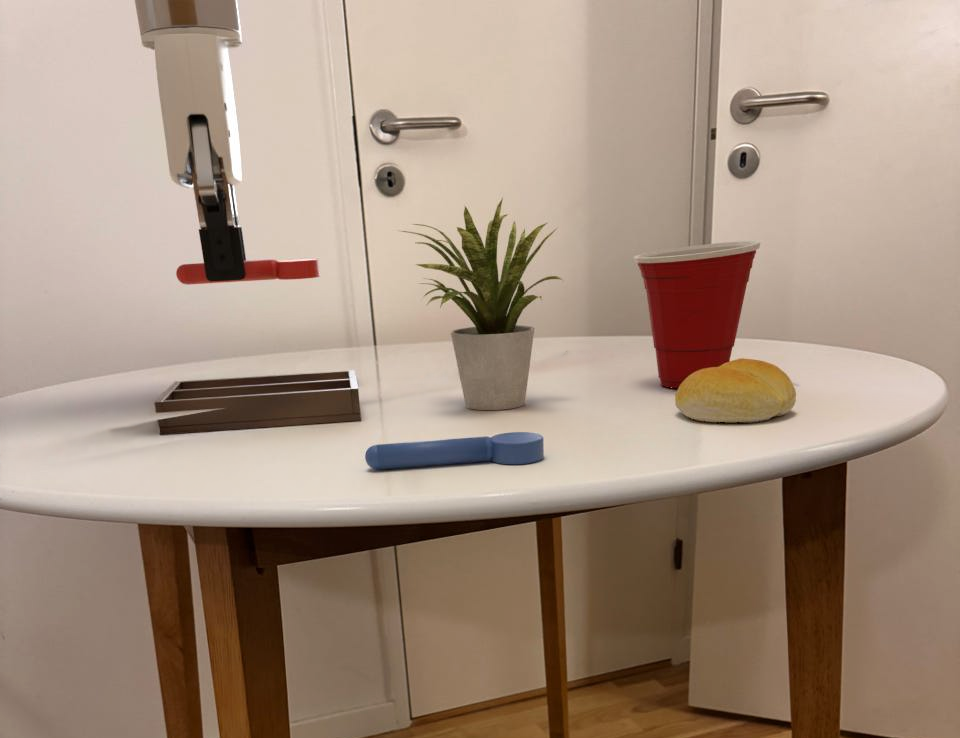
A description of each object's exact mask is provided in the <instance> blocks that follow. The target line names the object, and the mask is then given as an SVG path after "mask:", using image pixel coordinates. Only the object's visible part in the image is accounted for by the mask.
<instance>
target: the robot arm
mask: <svg viewBox="0 0 960 738" xmlns="http://www.w3.org/2000/svg"><path fill="white" fill-rule="evenodd" d="M134 5H135V11H136V16H137V24H138V28H139V29H138V30H139V34H140V40H141V46H143V47H144V48H146V49H150V50H152V51H154V57H155V58H154V59H155V70H156V80H157V87H158V95H159V96H158V97H159V103H160V104H159V105H160V111H161V118H162V124H163V125H162V126H163V133H164V140H165V147H166V156H167V164H168V171H169V176H170V180H172V181H173V182H174V183H175V185H178V186H179V187H182V188H186V189H192V190H193V193H194V199H195V206H196V212H197V217H198V223H199V229H198V234H199V241H200V246H201V247H200V248H201V254H202V260H203V263H204V266H205V273H206V278H207V280H209V281H228V280H242V279H244V278H245V276H246V272H245V265H244V261H247V257H246V256H247V255H246V250H245V243H244V235H243V229H242V228H243V227H242V226H240V221H239V214H238V208H237V199H236V193H235V192H236V191H235V190H236V189H235V187H236V186H238V185H239V184H240V183H241V182H242V179H243V177H242V176H243V175H242V161H241V146H240V135H239V127H238V118H237V110H236V102H235V93H234V85H233V77H232V70H231V62H230V57H229V50H234V49H237V48H239V47H240V46H242V45H243V38H242V30H241V22H240V15H239V14H240V13H239V8H238V0H134Z"/></svg>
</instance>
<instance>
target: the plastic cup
mask: <svg viewBox="0 0 960 738" xmlns="http://www.w3.org/2000/svg"><path fill="white" fill-rule="evenodd" d="M760 246H761V241H756V240H753V241H752V240H750V241H749V240H747V241H745V240H744V241H730V242H717V243H706V244H698V245H689V246H681V247H675V248H674V247H673V248H668V249H662V250H661V249H660V250H656V251H655V250H654V251H649V252H646V253H640V254H638V255H635V256H633V257H632V258H633V262H634V263H637V266H638V268H639V270H640V275H641V278H642V280H643V285H644V289H645V291H646V300H647V306H648V307H647V308H648V312H649V314H648V315H649V320H650V327H651V335H652V342H653V348H654V349H655V356H656V366H657V374H658V375H657V376H658V378H659V380H660V385H661V387H663V386H665V387H664V388H667V387H672V388H671V389H673V388H679V386H680V385H681V383H682V382H683V381H684V380H685V379H686V378H687V377H688V376H689V375H691V374H692V373H694V372H696V371H698V370H701V369H704V368H711V367H719V366H721V365H722V364H724V363H727V362H730V361H731V356H732V351H733V347H734V346H735V342H736V339H737V334H738V328H739V323H740V319H741V314H742V310H743V304H744V300H745V295H746V290H747V287H748V283H749V281H750V275H751V269H752V268H753V264H754V259H755V256H756V254H757V250H759V249H760Z"/></svg>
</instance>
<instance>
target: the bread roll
mask: <svg viewBox="0 0 960 738" xmlns="http://www.w3.org/2000/svg"><path fill="white" fill-rule="evenodd" d="M676 390H677V391H676V392H675V398H674V402H675V403H674V404H675V406H676V409H677V410H678V411H680V413H681V414H682V415H683V416H685V417H687V418H688V417H689V418H688V419H690V418H691V419H690V420H693V419H694V421H699V422H704V421H705V422H706V423H717V422H719V423H720V422H725V423H724V424H728V423H729V424H734V423H736V424H738V423H737V422H740V423H741V424H742V422H743V423H744V424H745V423H746V424H747V422H748V423H760V422H762V421H763V422H764V421H768V420H771V418H773V417H781V416H784V415H786V414H787V413H788V412H790V411H791V410H792V409H793V407H794V406H795V404H796V401H797V391H796V388H795V386H794V383H793V382H792V380H791V378H790V377H789V375H787V373H786V372H785V371H784V370H782V369H781V368H780V367H778V365H776V364H773V363H770V362H767V361H764V360H760V359H753V358H745V357H744V358H743V357H742V358H737V359H733V360H730V361H729V362H727V363H724V364H722V365H721V366H719V367H711V368H704V369H701V370H698V371H696V372H694V373H692V374H691V375H689V376H688V377H687V378H686V379H685V380H684V381H683V382H682V383H681V385H680V386H679V388H678V389H676ZM759 421H760V422H759ZM720 424H721V423H720Z"/></svg>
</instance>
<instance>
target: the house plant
mask: <svg viewBox="0 0 960 738" xmlns="http://www.w3.org/2000/svg"><path fill="white" fill-rule="evenodd" d="M503 198H504V197H503V196H502V198H501V200H500V201H499V203H498V204H497V206H496V209H495V212H494V216H493V219H491V220H490V221H489V222H488V224H487V230H486V236H485V243H484V242H483V240H482V237H481V234H480V233H479V231H478V229H477V227H476V225H475V223H474V220H473V217H472V215H471V213H470V211H469V209H468V208H467V207H466V206H464V209H463V220H464V225H465V228H462V227H458V226H456V231H457V233H458V234H459V235H460V238H461V249H462V251H463V253H464V255H465V257H466V260H467V261H468V263H469V265H470V267H469V266H468V263H467V261H466V260H465V258H464V256H463V254H462V253H461V251H460V250H459V249H458V248H457V246H456V245H455V244H454V242H453V241H452V240H451V239H450V238H449V236H447V234H445V233H444V232H443V231H441V230H439V229H437V228H436V227H434V226H430V225H427V224H418V223H412V225H414V226H420V227H421V226H422V227H427V228H431V229H433V230H435V231H436V232H438V234H440V235H442V237H443V238H444V239H445V240H443V239H436V238H434V237H431V236H429V235H426V234H423V233H419V232H414V231H407V230H401V232H403V233H407V234H408V233H409V234H414V235H417V236H421V237H424V238H426V239H427V240H429V241H432V242H433V243H434V244H432V243H430V242H423V241H419V242H416V244H417V245H418V244H420V245H421V244H422V245H426V246H428V247H429V248H431V249H433V250H434V251H435V252H437V253H438V254H439V255H440V256H441V257H442V258H443V259H444V260H445V262H447V264H443V263H442V264H441V263H417V264H415V266H419V267H421V268H424V269H429V270H437V271H442V272H444V273H447V274H449V275H452V276H455V277H457V278H458V280H459V282H460V283H461V286H463V288H464V290H465V291H458V290H457V289H455V288H453V287H447V286H446V285H444V284H443V283H442V282H441V281H438V280H437V279H433V278H428V280H430V281H433V282H434V283H429V282H428V283H423V282H422V283H419V282H418V284H420V285H430V286H435V287H436V288H433V289H432V290H429V291H427V292H426V293H425V294H424V295H423V297H426V296H428V295H429V294H431V293H433V292H436V291H442V292H443V293H445V294H443V295H436V296H435V295H434V296H433V297H431V298H430V299H429V301H428V302H427V304H426V306H428V305H429V304H430V303H431V302H433V301H436V300H439V299H441V301H440V306H439V309H441V307H443V305H444V304H445V303H447V302H448V301H450V300H451V301H453V302H454V304H456V305H457V306H458V307H459V309H460V310H461V311H462V312H463V313H464V314H465V316H466V317H468V319H469V320H470V321H471V322H472V323H473V325H474V326H470V327H464V328H463V327H461V328H457V329H453V330H451V331H450V337H451V340H452V345H453V350H454V355H455V356H454V357H455V360H456V366H457V370H458V375H459V379H460V385H461V389H462V395H463V399H464V405H465V407H466V408H468V409H472V410H477V411H500V410H510V409H515V408H516V409H517V408H520V407H522V406H524V405H525V403H526V397H527V390H528V383H529V382H528V381H529V373H530V365H531V359H532V350H533V343H534V342H533V341H534V336H535V328H534V326H529V325H521V324H520V325H519V324H518V325H517V323H518V320H519V318H520V317H521V315H522V313H523V311H524V310H525V309H526V307H528V305H530V304H531V303H532V302H534V301H535V300H536V299H538V298H539V299H540V301H543V300H542V297H543V296H542V295H540V296H538V295H535V294H530V295H526V293H528V292H529V290H531V289H532V288H534V287H535V286H537V285H538V284H540V283H543V282H545V281H550V280H561V281H563V278H561V277H560V276H557V275H556V276H555V275H551V276H545V277H543V278H541V279H539V280H538V281H536V282H535V283H532V285H530V286H528V288H526V287H525V284H524V283H523V282H522V281H521V279H522V278H523V275H524V273H525V272H526V270H527V267H528V266H529V265H530V263H531V261H532V260H533V259H534V258H535V256H536V255H537V254H538V252H539V251H540V249H541V248H542V246H543V245H544V244H545V242H546V241H547V240H548V239H549V238H550V237H551V236H552V235H553V233H554V232H556V230H558V227H556V228H555V229H554V230H552V232H550V233H549V234H547V235H546V236H545V237H544V239H542V241H541V242H540V243H539V244H538V246H537V247H536V248H535V249H534V251H533V252H532V253H530V250H531V248H532V246H533V245H534V243H535V240H536V238H537V237H538V235H539V233H540V232H541V230H543V228H544V227H545V226H546V225H547V224H548V222H545V223H544V224H540V225H538V226H537V227H536V228H534V229H533V230H532V231H531V232H530V233H529V234H527V236H526V229H525V227H524V228H523V231H522V232H521V234H520V238H519V240H518V242H517V244H516V239H517V225H516V221H515V220H514V221H513V223H512V226H511V230H510V232H509V236H508V241H507V247H506V251H505V255H504V259H503V263H502V267H501V268H502V270H501V275H500V280H499V269H498V241H499V232H500V229H501V226H502V222H503V220H504V218H506V217H507V216H508V215H509V213H508V214H503V215H501V211H502V204H503ZM396 231H398V232H399V230H398V229H397V230H396ZM442 242H444V243H446V244H449V246H450V248H451V249H450V248H449V247H447V246H446V245H445V244H444V243H442ZM435 244H436V245H435ZM515 245H516V247H515ZM438 246H439V247H440V248H439V247H438ZM514 248H515V249H514ZM444 251H445V252H444ZM513 252H514V253H513ZM446 253H447V254H448V255H449V256H450V257H451V258H452V259H453V260H454V261H455V262H456V264H457V265H458V266H456V265H455V263H454V262H453V261H452V259H451V258H450V257H449V256H448V255H447V254H446ZM529 253H530V255H529ZM422 279H424V280H426V278H424V277H423V278H422ZM466 281H468V282H470V283H471V285H472V287H473V288H474V290H475V292H476V293H475V292H474V291H471V290H470V288H469V286H468V284H467V282H466ZM465 295H466V296H467V297H468V298H469V299H468V298H467V297H466V296H465ZM422 300H423V299H421V301H422ZM471 302H472V303H471Z"/></svg>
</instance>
